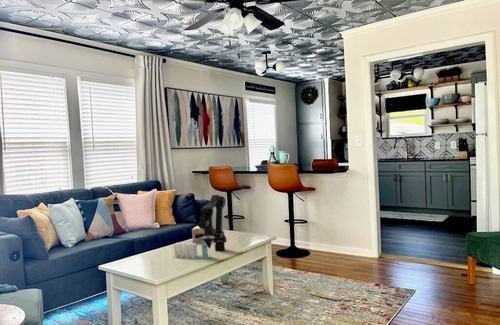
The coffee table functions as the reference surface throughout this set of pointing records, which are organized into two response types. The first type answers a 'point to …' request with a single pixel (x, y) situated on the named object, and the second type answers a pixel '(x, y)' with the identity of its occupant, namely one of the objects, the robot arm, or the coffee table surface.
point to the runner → (191, 257)
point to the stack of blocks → (195, 231)
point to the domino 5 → (204, 251)
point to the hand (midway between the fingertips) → (209, 248)
